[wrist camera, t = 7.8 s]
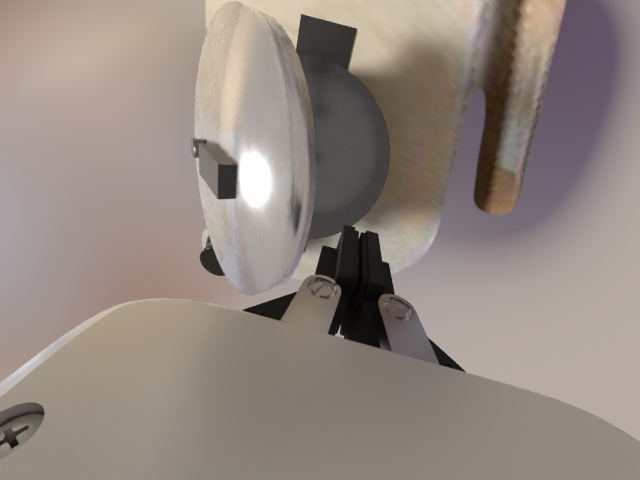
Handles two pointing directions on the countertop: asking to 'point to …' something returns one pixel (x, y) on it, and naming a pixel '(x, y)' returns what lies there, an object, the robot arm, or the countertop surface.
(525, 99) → the countertop surface
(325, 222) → the cooker pot
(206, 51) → the lid
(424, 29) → the countertop surface
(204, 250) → the supplement bottle
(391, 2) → the countertop surface
